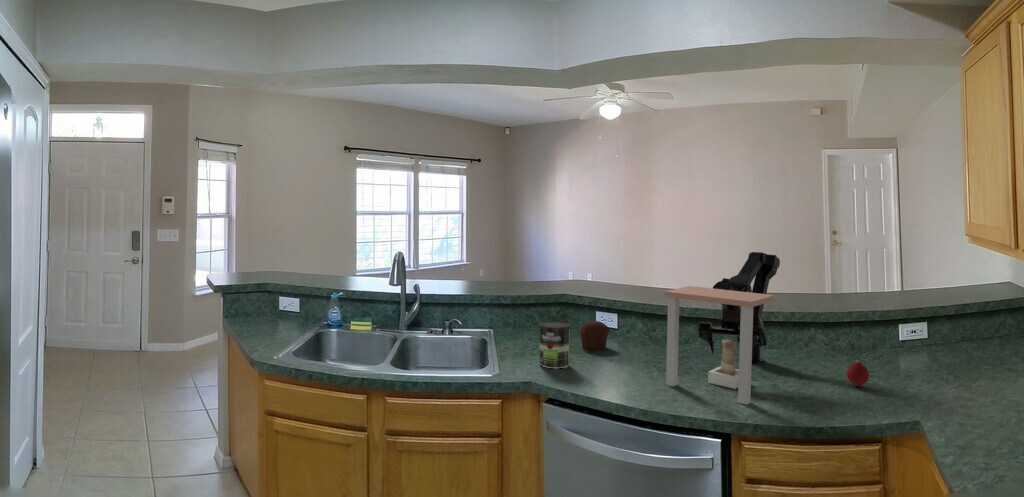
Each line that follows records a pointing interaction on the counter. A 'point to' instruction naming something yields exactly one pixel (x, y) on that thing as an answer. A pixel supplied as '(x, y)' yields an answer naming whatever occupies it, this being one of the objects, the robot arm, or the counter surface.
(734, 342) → the peg
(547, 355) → the coffee can
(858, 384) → the onion
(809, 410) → the counter surface
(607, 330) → the muffin
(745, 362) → the pink topped table
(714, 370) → the socket
